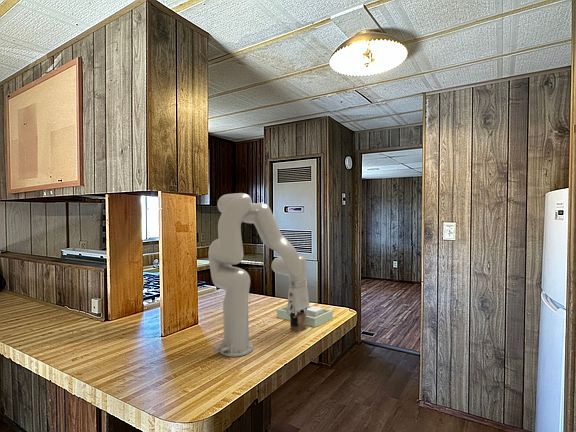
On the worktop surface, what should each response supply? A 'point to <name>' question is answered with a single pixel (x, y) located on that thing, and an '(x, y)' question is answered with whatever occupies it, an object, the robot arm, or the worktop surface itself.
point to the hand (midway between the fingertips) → (298, 323)
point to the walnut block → (299, 322)
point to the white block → (314, 311)
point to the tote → (310, 320)
